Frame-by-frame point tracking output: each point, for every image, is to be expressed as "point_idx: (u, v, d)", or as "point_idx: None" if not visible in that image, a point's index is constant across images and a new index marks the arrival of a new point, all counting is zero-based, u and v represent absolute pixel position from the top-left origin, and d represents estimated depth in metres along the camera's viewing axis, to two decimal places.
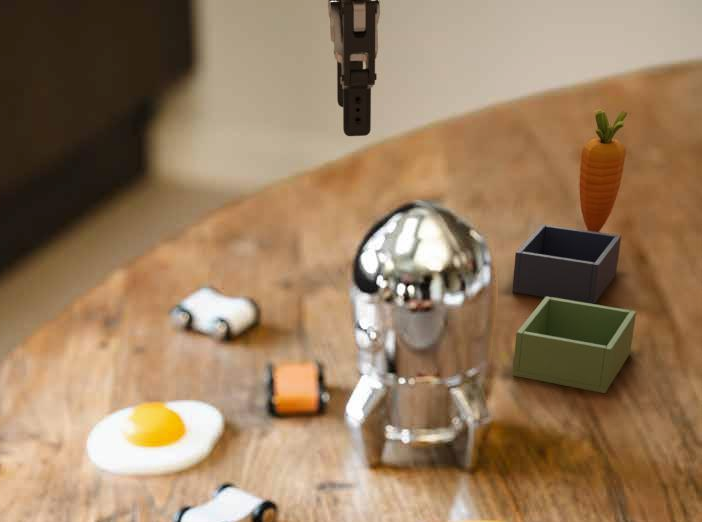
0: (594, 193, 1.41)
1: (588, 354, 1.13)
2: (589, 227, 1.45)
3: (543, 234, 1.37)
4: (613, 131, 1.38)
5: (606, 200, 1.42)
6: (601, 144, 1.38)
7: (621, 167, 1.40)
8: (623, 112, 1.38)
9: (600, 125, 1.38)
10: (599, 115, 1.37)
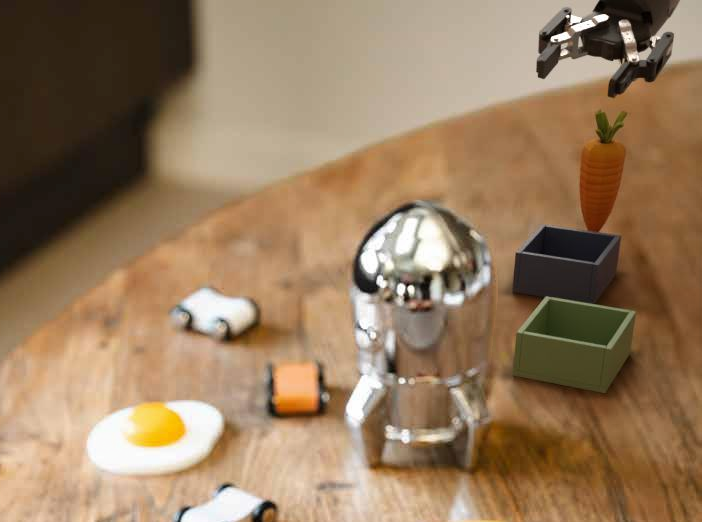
0: (594, 193, 1.41)
1: (588, 354, 1.13)
2: (589, 227, 1.45)
3: (543, 234, 1.37)
4: (613, 131, 1.38)
5: (606, 200, 1.42)
6: (601, 144, 1.38)
7: (621, 167, 1.40)
8: (623, 112, 1.38)
9: (600, 125, 1.38)
10: (599, 115, 1.37)
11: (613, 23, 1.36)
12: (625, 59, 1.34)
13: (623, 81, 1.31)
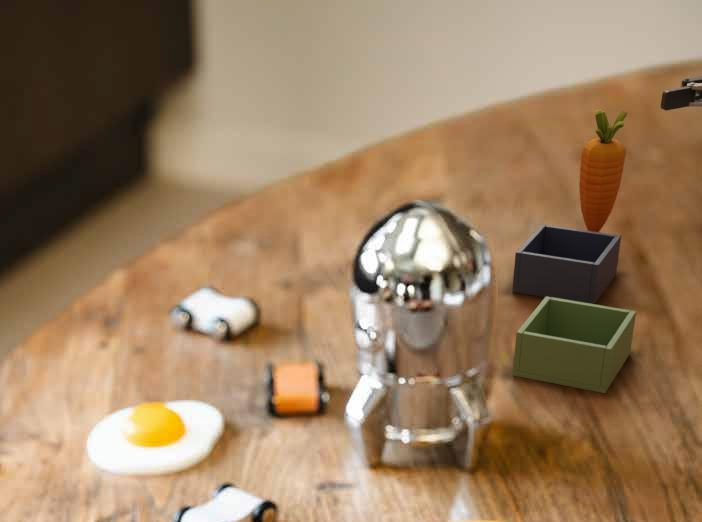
0: (594, 193, 1.41)
1: (588, 354, 1.13)
2: (589, 227, 1.45)
3: (543, 234, 1.37)
4: (613, 131, 1.38)
5: (606, 200, 1.42)
6: (601, 144, 1.38)
7: (621, 167, 1.40)
8: (623, 112, 1.38)
9: (600, 125, 1.38)
10: (599, 115, 1.37)
11: None
12: None
13: None
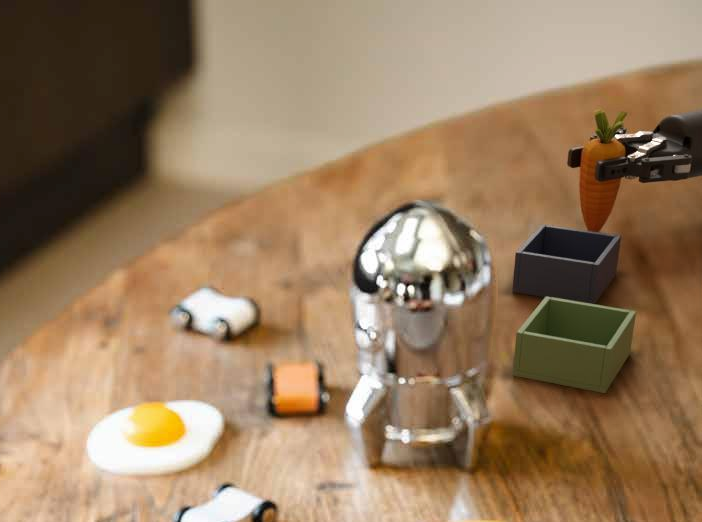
0: (594, 193, 1.41)
1: (588, 354, 1.13)
2: (589, 227, 1.45)
3: (543, 234, 1.37)
4: (613, 131, 1.38)
5: (606, 200, 1.42)
6: (601, 144, 1.38)
7: None
8: (623, 112, 1.38)
9: (600, 125, 1.38)
10: (599, 115, 1.37)
11: None
12: None
13: (609, 166, 1.37)
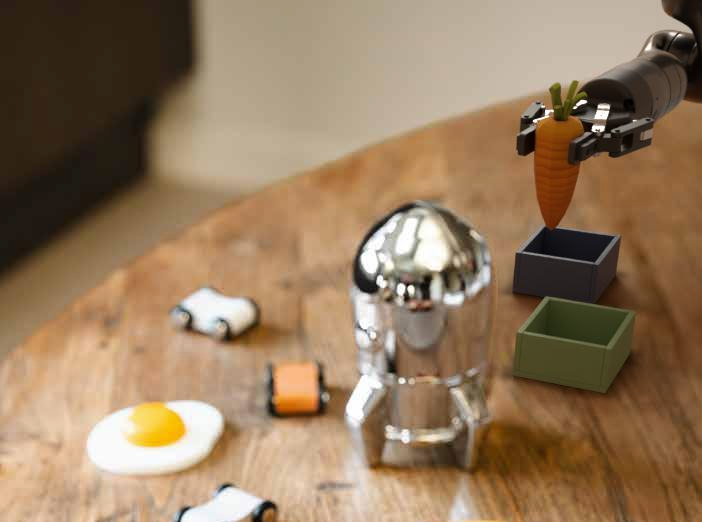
0: (561, 180, 1.20)
1: (588, 354, 1.13)
2: (550, 220, 1.24)
3: (543, 234, 1.37)
4: (572, 105, 1.17)
5: (571, 185, 1.21)
6: (562, 122, 1.18)
7: None
8: (575, 81, 1.18)
9: (558, 101, 1.17)
10: (558, 89, 1.16)
11: (592, 109, 1.24)
12: None
13: (585, 145, 1.17)
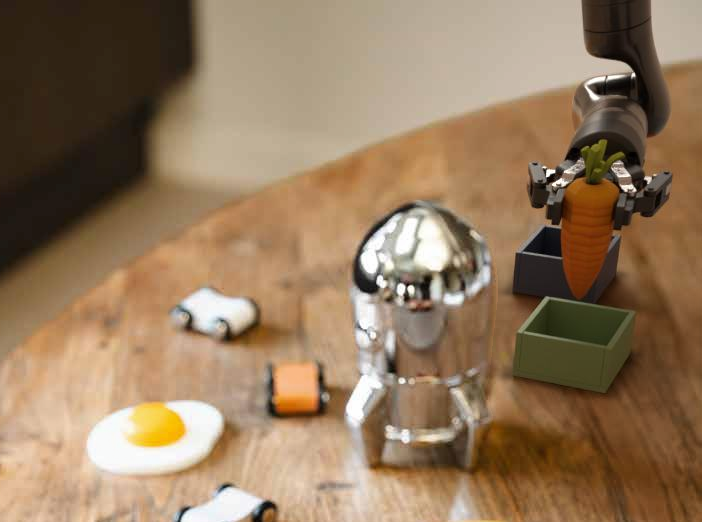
0: (599, 247, 1.10)
1: (588, 354, 1.13)
2: (582, 289, 1.14)
3: (543, 234, 1.37)
4: (607, 166, 1.08)
5: (606, 251, 1.12)
6: (600, 186, 1.08)
7: None
8: (604, 141, 1.08)
9: (595, 164, 1.07)
10: (598, 151, 1.05)
11: None
12: None
13: (630, 209, 1.07)
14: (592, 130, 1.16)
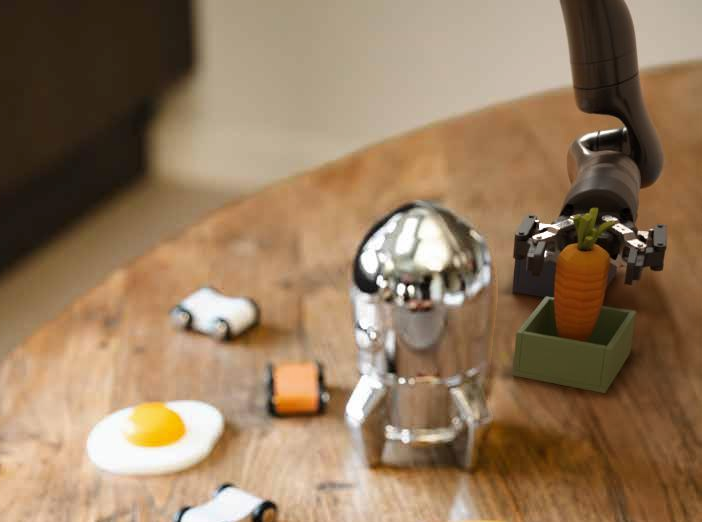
0: (591, 310, 1.14)
1: (588, 354, 1.13)
2: None
3: None
4: (599, 234, 1.11)
5: (597, 313, 1.15)
6: (591, 252, 1.11)
7: None
8: (595, 209, 1.12)
9: (586, 231, 1.11)
10: (590, 220, 1.09)
11: None
12: (623, 251, 1.15)
13: (641, 264, 1.11)
14: (586, 187, 1.20)
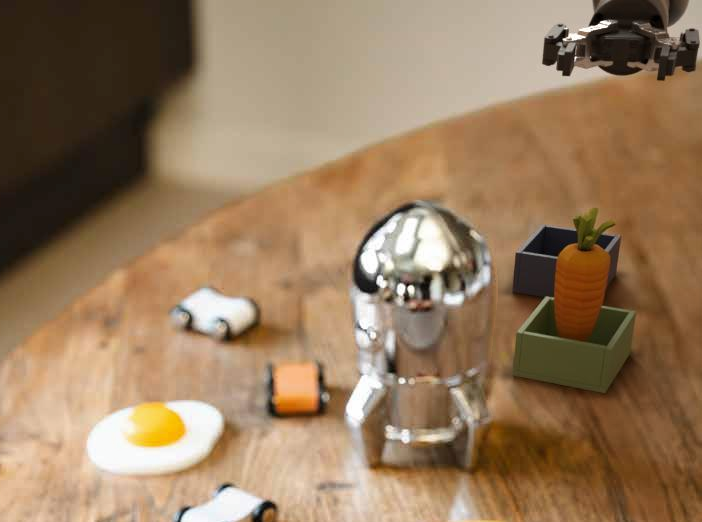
0: (591, 310, 1.14)
1: (588, 354, 1.13)
2: None
3: (543, 234, 1.37)
4: (599, 234, 1.11)
5: (597, 313, 1.15)
6: (591, 252, 1.11)
7: None
8: (595, 209, 1.12)
9: (586, 231, 1.11)
10: (590, 220, 1.09)
11: (621, 29, 1.17)
12: (655, 53, 1.13)
13: (674, 58, 1.09)
14: None
